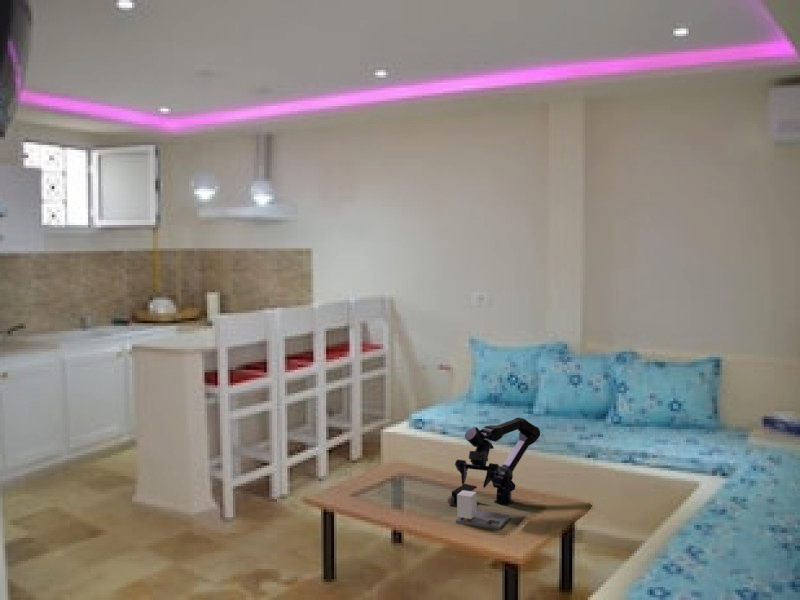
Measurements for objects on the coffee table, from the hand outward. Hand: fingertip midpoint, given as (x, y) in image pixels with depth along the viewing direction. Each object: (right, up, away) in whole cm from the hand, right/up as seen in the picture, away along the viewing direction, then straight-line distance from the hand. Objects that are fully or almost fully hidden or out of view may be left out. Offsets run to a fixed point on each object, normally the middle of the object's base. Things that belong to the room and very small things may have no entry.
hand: (473, 485), depth 291 cm
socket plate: (+3, -14, -5) cm, 15 cm away
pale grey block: (-3, -13, -6) cm, 14 cm away
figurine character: (-3, -13, +17) cm, 22 cm away
